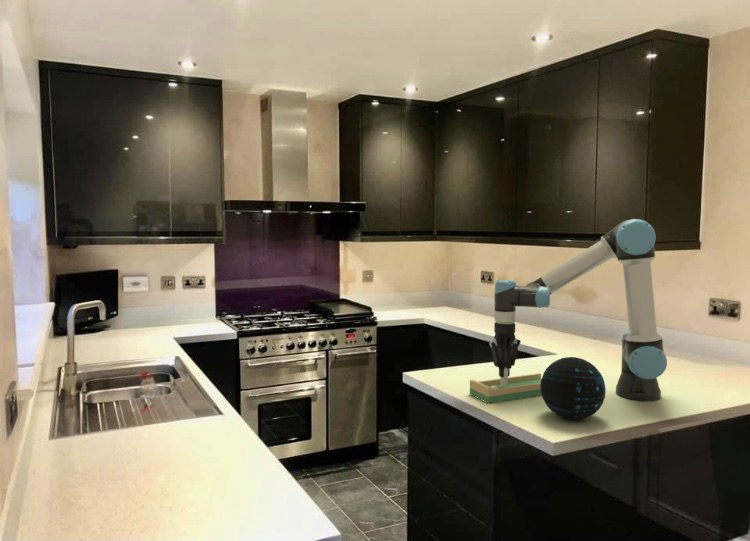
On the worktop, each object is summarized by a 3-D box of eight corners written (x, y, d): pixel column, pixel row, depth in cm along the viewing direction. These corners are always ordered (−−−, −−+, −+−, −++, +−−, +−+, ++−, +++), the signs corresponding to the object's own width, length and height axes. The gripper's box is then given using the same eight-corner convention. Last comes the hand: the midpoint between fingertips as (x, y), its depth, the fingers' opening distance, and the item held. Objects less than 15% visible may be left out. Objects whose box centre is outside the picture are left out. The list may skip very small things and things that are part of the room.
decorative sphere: (608, 431, 172) (610, 367, 171) (540, 426, 178) (541, 363, 176) (601, 411, 192) (602, 352, 190) (539, 406, 197) (540, 349, 195)
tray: (560, 392, 213) (560, 378, 213) (488, 403, 201) (488, 388, 200) (539, 384, 224) (539, 370, 224) (469, 394, 212) (469, 379, 211)
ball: (489, 398, 206) (495, 399, 209) (497, 391, 205) (503, 392, 208) (484, 389, 209) (490, 390, 211) (492, 382, 207) (497, 383, 210)
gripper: (513, 319, 214) (512, 380, 216) (484, 321, 209) (483, 384, 211) (525, 322, 207) (524, 385, 209) (495, 325, 202) (495, 389, 204)
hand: (504, 385), depth 210 cm, fingers closed
